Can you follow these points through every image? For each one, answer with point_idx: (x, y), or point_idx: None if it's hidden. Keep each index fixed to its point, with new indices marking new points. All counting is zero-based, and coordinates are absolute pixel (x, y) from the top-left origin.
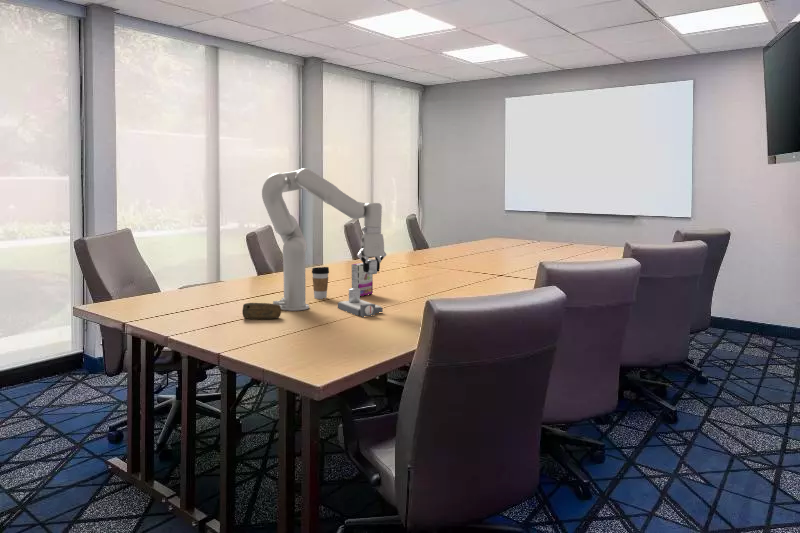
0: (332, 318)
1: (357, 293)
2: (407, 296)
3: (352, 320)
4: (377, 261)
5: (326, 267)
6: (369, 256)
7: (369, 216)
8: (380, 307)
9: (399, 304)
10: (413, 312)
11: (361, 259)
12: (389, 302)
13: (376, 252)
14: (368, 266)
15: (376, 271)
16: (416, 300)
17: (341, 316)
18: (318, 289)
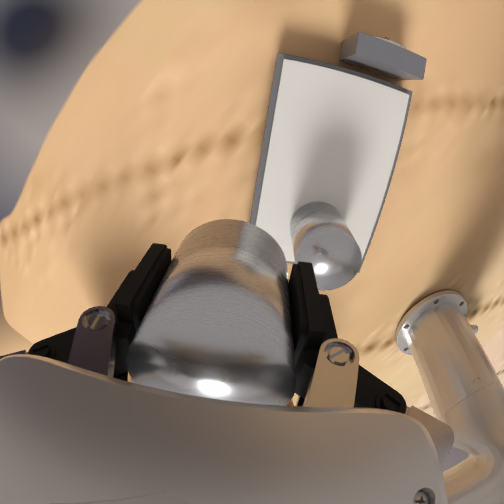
0: (477, 139)
1: (331, 222)
2: (31, 273)
3: (453, 62)
4: (128, 339)
5: None
6: (345, 410)
7: None
8: (286, 60)
9: (93, 179)
10: (142, 11)
11: (392, 400)
12: (109, 232)
13: (138, 471)
14: (300, 302)
15: (197, 235)
16: (24, 208)
17: (443, 138)
18: (290, 405)
